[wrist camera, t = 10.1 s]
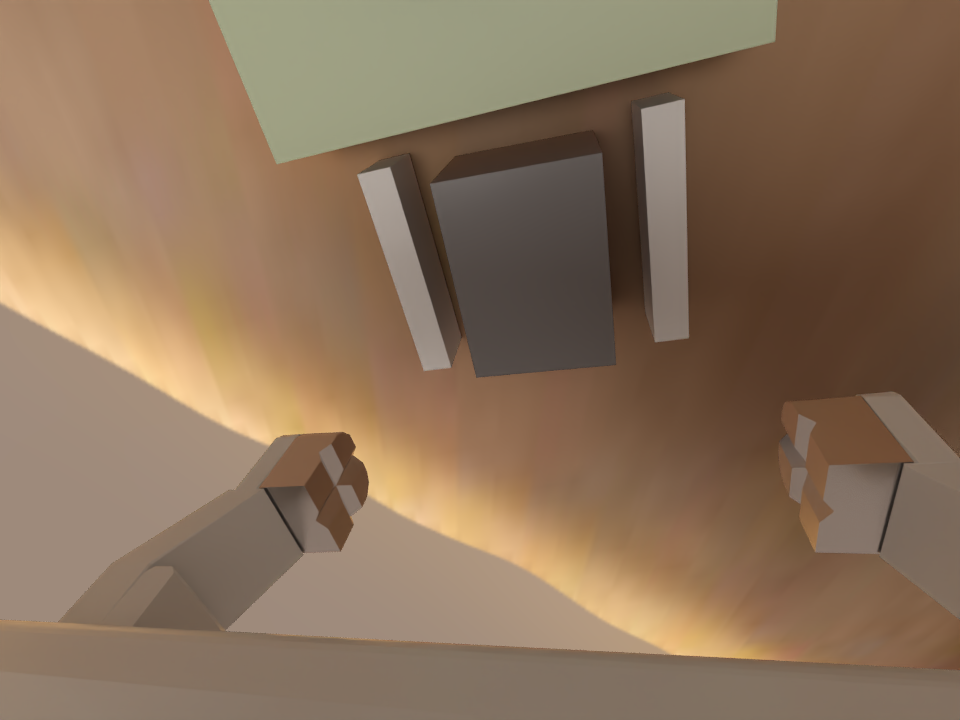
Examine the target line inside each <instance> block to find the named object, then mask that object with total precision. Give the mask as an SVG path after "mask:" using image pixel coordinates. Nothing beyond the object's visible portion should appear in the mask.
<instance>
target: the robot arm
mask: <svg viewBox="0 0 960 720" xmlns="http://www.w3.org/2000/svg"><path fill="white" fill-rule="evenodd" d="M781 422H782V424H783V426H784V428H785V430H786V432H787V434H786V435H785V436H784V437H783V438H782V439H781V440H780V441H779V451H778V459H779V467H780V474H781V477H782V480H783V484H784V486H785V488H786V491H787V493H788V495H789V497H790V498H792V499H793V500H795V501H796V502H798V503H799V504H800V513H799V519H800V521H801V524H802V526H803V528H804V530H805V532H806V534H807V536H808V538H809V541H810V543H811V545H812V547H813V549H814V551H815V552H819V553H859V554H880V557H881V558H882V559H883V560H884V561H886V562H887V563H888V564H890V565H891V566H892V567H893V568H895V569H896V570H897V571H898V572H900V573H901V574H902V575H904V576H905V577H906V578H907V579H909V580H910V581H911V582H912V583H914V584H915V585H916V586H918V587H919V588H920V589H921V590H923V591H924V592H925V593H926V594H928V595H929V596H930V597H932V598H933V599H934V600H935V601H937V602H938V603H939V604H940V605H942V606H943V607H944V608H946V609H947V610H948V611H949V612H951V613H952V614H953V615H954V616H956V617H957V618H958V619H960V458H959V457H958V456H957V455H956V453H955V452H954V451H953V450H952V449H951V448H950V447H949V446H948V445H947V444H946V443H945V442H944V441H943V440H942V439H941V437H940V436H939V435H938V434H937V433H936V432H935V431H934V430H933V429H932V428H931V427H930V426H929V425H928V424H927V422H926V421H925V420H924V419H923V418H922V417H921V416H920V415H919V414H918V413H917V412H916V411H915V410H914V409H913V408H912V406H911V405H910V404H909V403H908V402H907V401H906V400H905V399H904V398H903V397H902V396H901V395H900V394H898V393H895V392H893V391H892V392H881V393H870V394H860V395H855V396H848V397H835V398H821V399H808V400H795V401H785V403H784V406H783V408H782V416H781ZM355 448H356V446H355V444H354V442H353V440H352V438H351V437H350V435H349V434H346V433H344V432H336V433H314V434H302V435H300V434H297V435H283V436H281V437H278V438H276V439H275V440H274V442H273V443H272V444H271V445H270V447H269V448H268V449H267V450H266V452H265V453H264V454H263V455H262V457H261V458H260V459H259V460H258V462H257V463H256V464H255V465H254V467H253V468H252V469H251V470H250V472H249V473H248V474H247V475H246V477H245V478H244V479H243V480H242V482H241V483H240V484H239V485H238V487H237V488H236V489H235V490H228V491H226V492H225V493H223V494H222V495H220V496H218V497H217V498H215V499H214V500H212V501H210V502H209V503H207V504H206V505H204V506H202V507H201V508H199V509H198V510H196V511H194V512H193V513H191V514H190V515H188V516H186V517H185V518H184V519H182V520H180V521H179V522H177V523H176V524H174V525H173V526H171V527H169V528H168V529H166V530H164V531H163V532H161V533H159V534H158V535H156V536H155V537H153V538H151V539H150V540H148V541H147V542H145V543H144V544H142V545H140V546H139V547H137V548H136V549H134V550H132V551H131V552H129V553H128V554H126V555H124V556H123V557H121V558H120V559H118V560H116V561H115V562H113V563H112V564H111V565H110V566H109V567H108V568H107V569H106V570H105V571H104V572H103V573H102V575H101V576H100V577H99V578H98V579H97V580H96V581H95V582H94V583H93V584H92V585H91V586H90V588H89V589H88V590H87V591H86V592H85V593H84V594H83V595H82V596H81V597H80V599H78V601H77V602H76V603H75V604H74V605H73V606H72V607H71V608H70V609H69V610H68V612H67V613H66V614H65V615H64V616H63V617H62V618H61V619H60V620H59V621H58V622H40V621H39V622H38V621H21V620H2V619H0V720H960V670H945V669H926V668H907V667H888V666H869V665H850V664H832V663H813V662H794V661H775V660H756V659H737V658H718V657H700V656H681V655H662V654H643V653H624V652H603V651H586V650H567V649H547V648H527V647H509V646H490V645H470V644H451V643H432V642H431V643H430V642H413V641H393V640H377V639H359V638H341V637H322V636H302V635H286V634H266V633H248V632H230V631H228V632H227V631H225V630H226V629H227V628H228V627H229V626H230V625H231V624H232V623H233V622H235V620H237V619H238V618H239V617H240V616H241V615H242V614H243V613H244V612H245V611H246V610H247V609H248V608H249V607H250V606H251V605H252V604H253V603H254V602H255V601H256V600H257V599H258V598H259V597H260V596H262V595H263V594H264V593H265V592H266V591H267V590H268V589H269V588H270V587H271V586H272V585H273V584H274V583H275V582H276V581H277V580H278V579H279V578H280V577H281V576H282V575H283V574H284V573H285V572H286V571H287V570H288V569H289V568H291V567H292V566H293V565H294V564H295V563H296V562H297V561H298V560H299V559H300V558H301V557H302V556H303V553H316V552H340V551H341V550H342V548H343V546H344V543H345V541H346V540H347V538H348V535H349V533H350V531H351V529H352V527H353V525H354V524H353V521H352V518H351V516H352V515H353V514H354V513H356V512H357V511H358V510H359V509H361V508H362V506H363V504H364V502H365V500H366V498H367V493H368V485H369V481H368V475H367V471H366V468H365V466H364V464H363V462H361V461H360V460H359V459H357V458H356V457H355V456H353V454H354V451H355Z"/></svg>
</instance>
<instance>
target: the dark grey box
mask: <svg viewBox="0 0 960 720" xmlns="http://www.w3.org/2000/svg"><path fill="white" fill-rule="evenodd" d="M430 187H431V191H432V195H433V199H434V203H435V207H436V212H437V216H438V220H439V224H440V228H441V232H442V237H443V241H444V245H445V249H446V253H447V257H448V261H449V266H450V270H451V274H452V278H453V282H454V286H455V291H456V295H457V299H458V303H459V307H460V311H461V316H462V320H463V324H464V328H465V332H466V336H467V340H468V345H469V349H470V353H471V357H472V361H473V365H474V370H475V374H476V378H477V377H488V376H499V375H510V374H521V373H532V372H543V371H554V370H565V369H576V368H587V367H598V366H609V365H616V356H615V341H614V325H613V310H612V295H611V280H610V265H609V250H608V234H607V219H606V204H605V189H604V174H603V159H602V151H601V149H600V146H599V144H598V141H597V139H596V136H595V134H594V131H593V130H590V131H585V132H580V133H575V134H569V135H564V136H559V137H554V138H548V139H543V140H538V141H533V142H527V143H522V144H517V145H512V146H507V147H501V148H496V149H491V150H486V151H480V152H475V153H470V154H465V155H459V156H455V157H454V158H453V159H452V160H451V162H450V163H449V164H448V165H447V166H446V167H445V168H444V169H443V170H442V171H441V172H440V173H439V175H438V176H437V177H436V178H435V179H434V180H433V181H432V182H431V183H430Z"/></svg>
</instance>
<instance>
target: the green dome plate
mask: <svg viewBox="0 0 960 720" xmlns="http://www.w3.org/2000/svg"><path fill="white" fill-rule="evenodd" d="M209 2H210V5H211V7H212V10H213V12H214V14H215V17H216V19H217V22H218V24H219V26H220V29H221V31H222V34H223V36H224V38H225V41H226V43H227V46H228V48H229V50H230V53H231V55H232V58H233V60H234V63H235V65H236V67H237V70H238V72H239V75H240V77H241V79H242V82H243V84H244V87H245V89H246V91H247V94H248V96H249V99H250V101H251V103H252V106H253V108H254V111H255V113H256V116H257V118H258V120H259V123H260V125H261V128H262V130H263V132H264V135H265V137H266V140H267V142H268V144H269V147H270V149H271V152H272V154H273V156H274V159H275V161H276V164H280V163H284V162H288V161H292V160H296V159H300V158H304V157H308V156H312V155H316V154H320V153H324V152H329V151H333V150H337V149H341V148H345V147H349V146H353V145H357V144H361V143H365V142H369V141H373V140H377V139H381V138H385V137H389V136H394V135H398V134H402V133H406V132H410V131H414V130H418V129H422V128H426V127H430V126H434V125H438V124H442V123H446V122H450V121H455V120H459V119H463V118H467V117H471V116H475V115H479V114H483V113H487V112H491V111H495V110H499V109H503V108H507V107H511V106H515V105H520V104H524V103H528V102H532V101H536V100H540V99H544V98H548V97H552V96H556V95H560V94H564V93H568V92H572V91H576V90H581V89H585V88H589V87H593V86H597V85H601V84H605V83H609V82H613V81H617V80H621V79H625V78H629V77H633V76H637V75H641V74H646V73H650V72H654V71H658V70H662V69H666V68H670V67H674V66H678V65H682V64H686V63H690V62H694V61H698V60H702V59H707V58H711V57H715V56H719V55H723V54H727V53H731V52H735V51H739V50H743V49H747V48H751V47H755V46H759V45H763V44H767V43H772V42H775V34H776V18H777V2H778V0H209ZM631 108H632V122H633V137H634V152H635V167H636V182H637V197H638V212H639V227H640V241H641V256H642V271H643V286H644V301H645V313H646V316H647V319H648V322H649V326H650V329H651V332H652V335H653V338H654V341H655V342H662V341H670V340H678V339H686V338H689V310H688V255H687V201H686V146H685V99H683V98H681V97H678V96H676V95H674V94H671V93H669V92H668V93H664V94H660V95H655V96H651V97H647V98H643V99H638V100H634V101H631ZM357 176H358V178H359V181H360V184H361V187H362V190H363V193H364V196H365V199H366V202H367V205H368V208H369V211H370V214H371V217H372V220H373V223H374V225H375V228H376V231H377V234H378V237H379V240H380V243H381V246H382V249H383V252H384V255H385V258H386V261H387V264H388V267H389V269H390V272H391V275H392V278H393V281H394V284H395V287H396V290H397V293H398V296H399V299H400V302H401V305H402V308H403V311H404V314H405V316H406V319H407V322H408V325H409V328H410V331H411V334H412V337H413V340H414V343H415V346H416V349H417V352H418V355H419V358H420V361H421V363H422V366H423V369H424V371H428V370H436V369H444V368H451V367H452V364H453V361H454V358H455V355H456V352H457V349H458V347H459V344H460V341H461V334H460V330H459V327H458V323H457V320H456V316H455V313H454V309H453V306H452V302H451V299H450V295H449V292H448V288H447V285H446V281H445V278H444V274H443V271H442V267H441V263H440V260H439V256H438V253H437V249H436V246H435V242H434V239H433V235H432V232H431V228H430V225H429V221H428V218H427V214H426V211H425V207H424V204H423V200H422V196H421V193H420V189H419V186H418V182H417V179H416V175H415V172H414V168H413V165H412V161H411V158H410V154H404V155H400V156H396V157H391V158H387V159H383V160H379V161H378V162H376V163H375V164H373V165H372V166H370V167H368V168H367V169H365V170H364V171H362V172H361V173H359V174H357Z"/></svg>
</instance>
